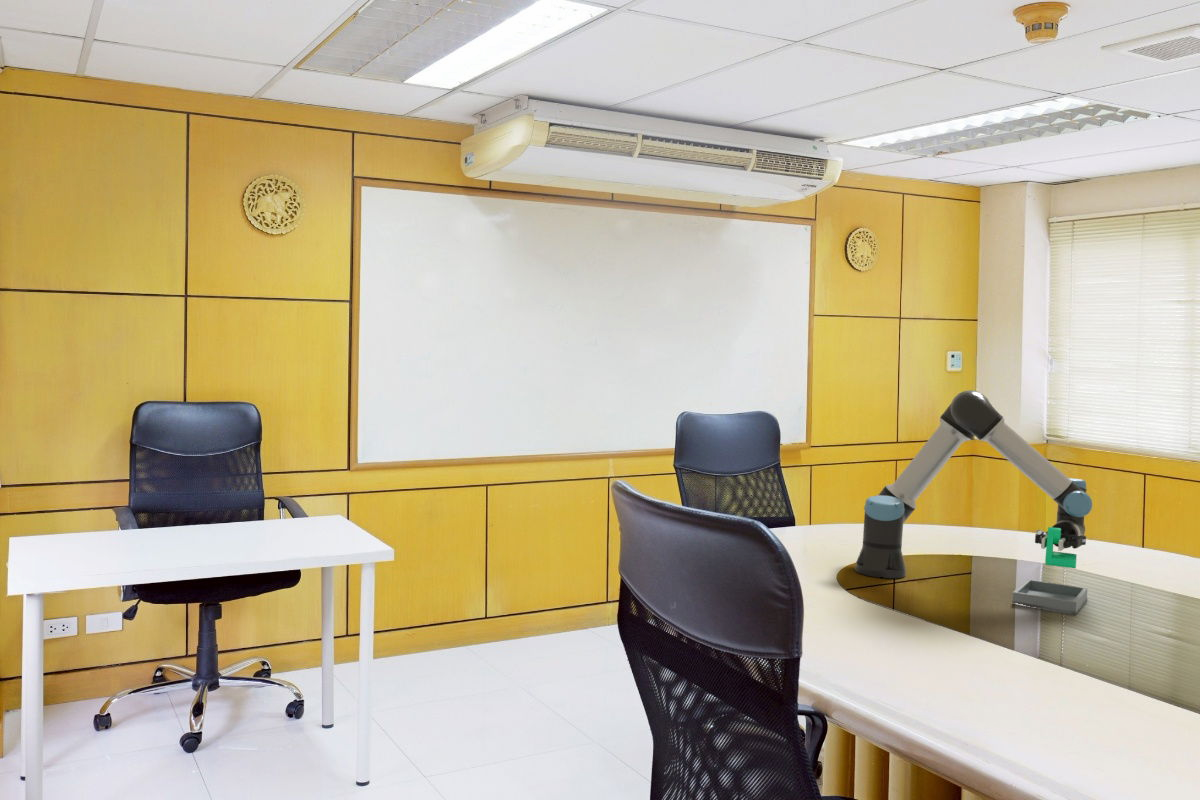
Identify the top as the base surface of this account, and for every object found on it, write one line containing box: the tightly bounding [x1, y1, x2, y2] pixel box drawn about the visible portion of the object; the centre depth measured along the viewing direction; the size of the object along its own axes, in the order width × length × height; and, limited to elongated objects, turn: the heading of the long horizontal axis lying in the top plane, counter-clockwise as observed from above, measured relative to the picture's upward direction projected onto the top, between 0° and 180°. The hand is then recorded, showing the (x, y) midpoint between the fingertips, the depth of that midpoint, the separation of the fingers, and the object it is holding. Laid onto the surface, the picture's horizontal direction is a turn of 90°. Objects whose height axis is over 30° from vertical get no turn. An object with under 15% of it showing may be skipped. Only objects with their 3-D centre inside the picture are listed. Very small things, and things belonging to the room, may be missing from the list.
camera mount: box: [1044, 526, 1077, 569], centre depth 277 cm, size 12×8×10 cm, turn 154°
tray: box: [1011, 578, 1088, 616], centre depth 280 cm, size 16×22×4 cm
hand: (1051, 544), depth 275 cm, fingers closed on camera mount, 4 cm apart
